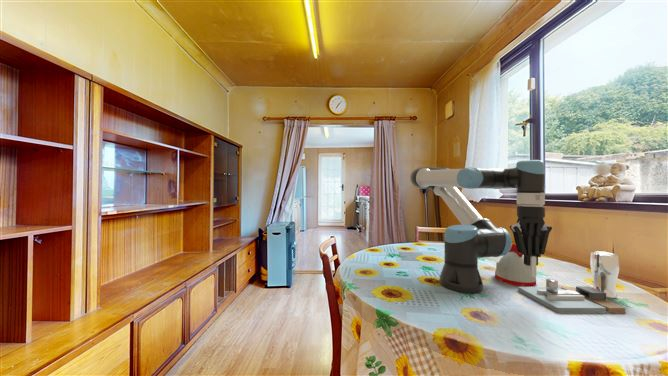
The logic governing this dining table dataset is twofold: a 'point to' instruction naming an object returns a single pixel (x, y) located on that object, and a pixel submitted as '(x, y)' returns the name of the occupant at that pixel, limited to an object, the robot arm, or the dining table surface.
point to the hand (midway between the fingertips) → (530, 274)
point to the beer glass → (605, 272)
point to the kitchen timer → (513, 269)
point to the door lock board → (573, 300)
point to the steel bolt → (556, 289)
